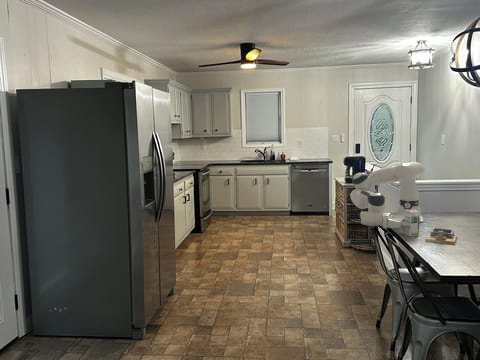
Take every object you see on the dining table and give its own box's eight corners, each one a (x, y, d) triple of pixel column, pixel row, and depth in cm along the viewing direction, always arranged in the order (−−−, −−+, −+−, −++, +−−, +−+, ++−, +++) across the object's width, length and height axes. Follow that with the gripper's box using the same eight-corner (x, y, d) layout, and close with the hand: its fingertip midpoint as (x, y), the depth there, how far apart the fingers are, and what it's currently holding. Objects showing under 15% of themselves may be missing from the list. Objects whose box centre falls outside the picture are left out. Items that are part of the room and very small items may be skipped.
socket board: (429, 234, 244) (430, 224, 243) (456, 237, 237) (457, 227, 236) (425, 241, 229) (425, 231, 228) (454, 244, 222) (454, 234, 221)
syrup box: (410, 236, 239) (411, 211, 237) (403, 234, 245) (404, 209, 243) (418, 235, 241) (419, 210, 239) (412, 233, 246) (412, 209, 245)
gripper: (390, 222, 258) (414, 224, 251) (383, 228, 241) (408, 231, 234) (390, 211, 257) (415, 213, 250) (383, 218, 240) (409, 220, 233)
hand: (411, 222), depth 242 cm, fingers open, 8 cm apart
